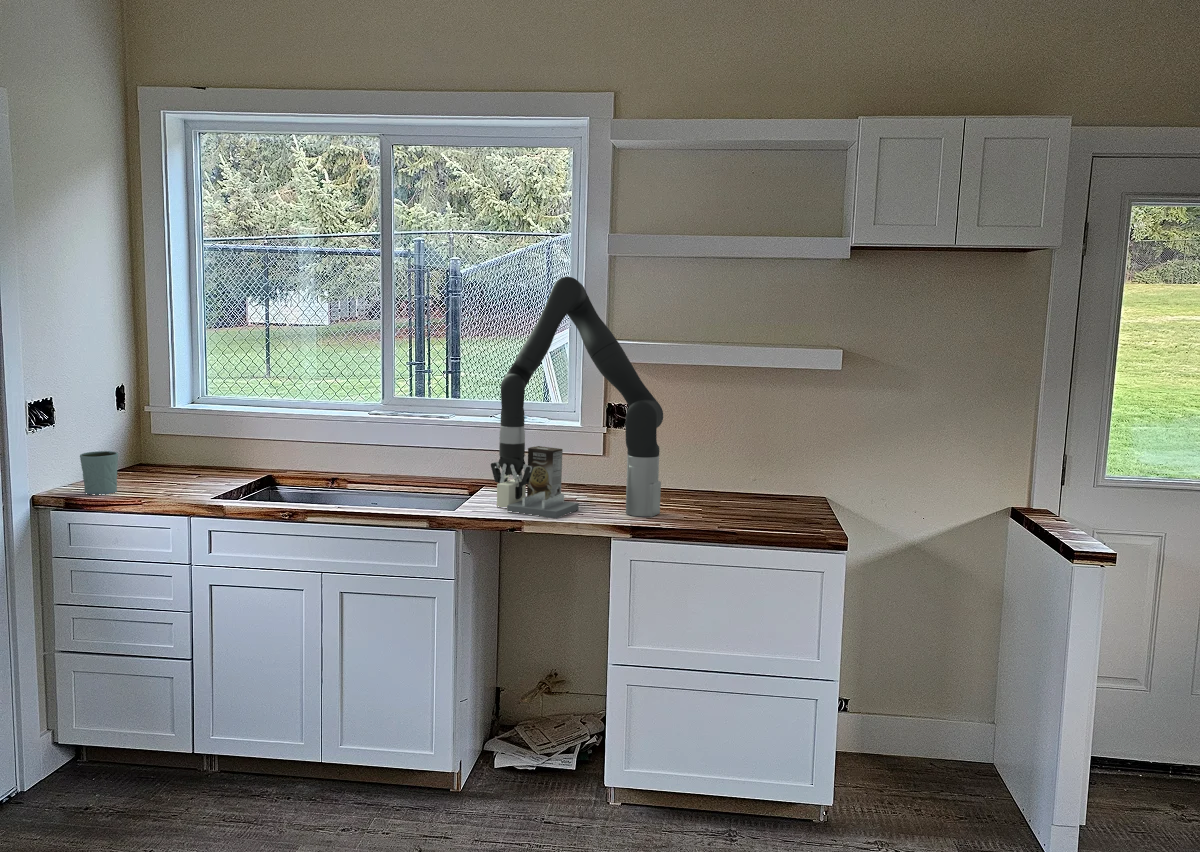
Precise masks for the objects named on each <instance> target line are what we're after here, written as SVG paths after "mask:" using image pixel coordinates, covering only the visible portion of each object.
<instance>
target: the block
mask: <svg viewBox="0 0 1200 852" xmlns="http://www.w3.org/2000/svg"><path fill="white" fill-rule="evenodd" d="M516 487H517V486H516V484H515V480H514V479H510V480H508V481H506V482H503V483H497V484H496V507H497V506H499V507H507V505H510V504H513V503H516V502H519V501H522V498H524V497H527V488H526V487H527V484H526V485H523V487H522V497H521V498H520V499H515V489H516Z"/></svg>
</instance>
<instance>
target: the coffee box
mask: <svg viewBox="0 0 1200 852" xmlns="http://www.w3.org/2000/svg"><path fill="white" fill-rule="evenodd" d="M527 465H528V466H533V471H532V474H531V477H530V480H529V483H528V484H526V487H527V488H526V497H527V496H530V495H533V494H536V493H539V492H542V491H545V499H547V498H550V497H553V496H556V495H559V494H562V469H563V448H557V447H549V446H541V445H537V446H530V447H528V448H527Z"/></svg>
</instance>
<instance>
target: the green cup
mask: <svg viewBox="0 0 1200 852" xmlns="http://www.w3.org/2000/svg"><path fill="white" fill-rule="evenodd" d="M79 459H80V465H81V471H82V479H83V483H84V484H83V486H84V494H85V493H87V494H95V495H99V494H109V493H114V492H116V493H117V492H118V467H119V465H118V464H119V463H118V460H119V453H118V452H117V451H110V450H104V451H103V450H98V451H89V452H84V453H80V454H79ZM114 494H115V493H114Z"/></svg>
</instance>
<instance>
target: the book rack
mask: <svg viewBox="0 0 1200 852" xmlns="http://www.w3.org/2000/svg"><path fill="white" fill-rule="evenodd" d="M579 505H580V504H579V502H574V501H573V502H572V501H565V493H561V494H559V495H556V496H553V497H550V498H547V499H545V491H542V492H539V493H536V494H533V495H530V496H527V495H526V497H524V498H522V501H519V502H516V503H513V504H510V505H507V509H506V511H512V512H519V513H525V514H532V515H531V516H533V515H539V516H538V517H540V516H545V517H544V518H548V517H551V518H550V519H555V518H557V519H559V518H561V516H562V517H564V516H566V515H565V514H567V515H569V514H571V513H570V512H572V513H574V512H576V511H575V510H577V511H579V510H578V509H579V508H580V506H579ZM573 511H574V512H573ZM568 513H569V514H568ZM525 514H524V515H525ZM563 515H564V516H563Z"/></svg>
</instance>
